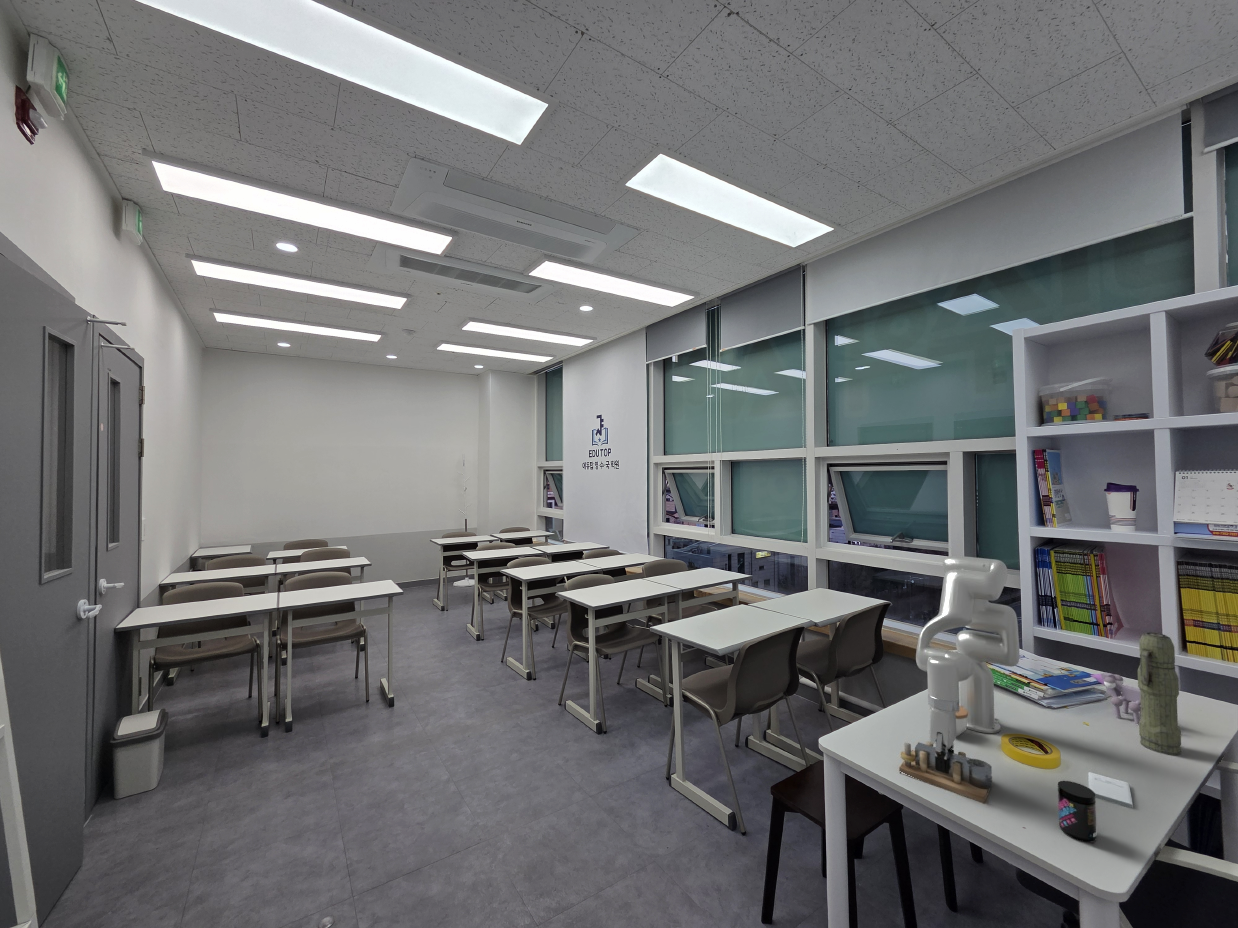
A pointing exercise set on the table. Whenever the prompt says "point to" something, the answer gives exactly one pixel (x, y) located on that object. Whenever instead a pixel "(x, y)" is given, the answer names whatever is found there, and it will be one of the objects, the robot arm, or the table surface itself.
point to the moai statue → (1158, 694)
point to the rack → (939, 775)
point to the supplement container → (1077, 811)
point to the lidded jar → (960, 720)
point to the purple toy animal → (1121, 694)
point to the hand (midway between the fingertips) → (944, 766)
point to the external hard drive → (1110, 790)
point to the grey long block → (971, 769)
